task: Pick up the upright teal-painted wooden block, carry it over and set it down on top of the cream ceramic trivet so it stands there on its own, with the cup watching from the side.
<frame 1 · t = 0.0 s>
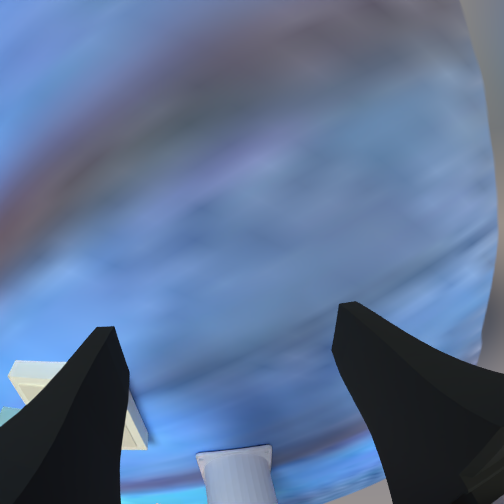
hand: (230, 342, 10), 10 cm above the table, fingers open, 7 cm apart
trivet: (83, 397, 24), on the table
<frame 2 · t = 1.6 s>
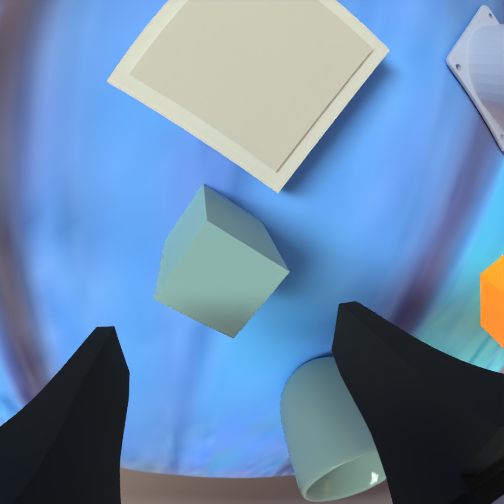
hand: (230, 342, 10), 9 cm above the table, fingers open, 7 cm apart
trivet: (249, 58, 15), on the table
cup: (315, 375, 25), on the table
block: (212, 231, 18), on the table
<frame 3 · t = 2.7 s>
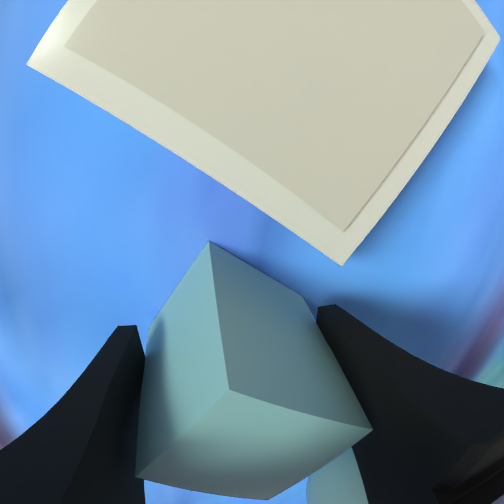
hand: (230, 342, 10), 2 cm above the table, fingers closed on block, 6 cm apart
trivet: (289, 25, 8), on the table
cup: (348, 450, 18), on the table
block: (225, 312, 11), on the table, touching gripper
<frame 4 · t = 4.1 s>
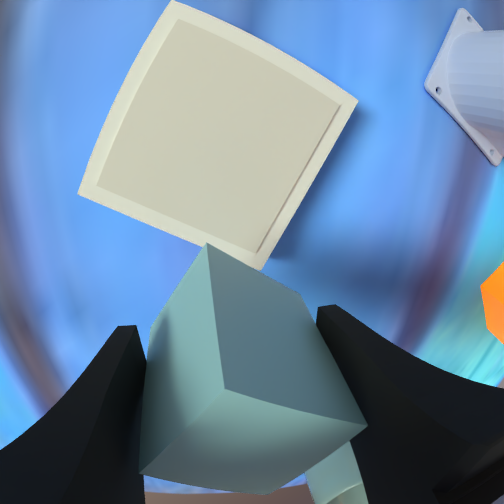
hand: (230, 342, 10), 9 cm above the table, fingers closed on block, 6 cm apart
trivet: (214, 134, 16), on the table
cup: (327, 400, 26), on the table
block: (224, 312, 12), point 7 cm above the table, touching gripper
when the fingers open (5 cm above the table, at t = 5.7 s): block drops 1 cm, point 2 cm above the table.
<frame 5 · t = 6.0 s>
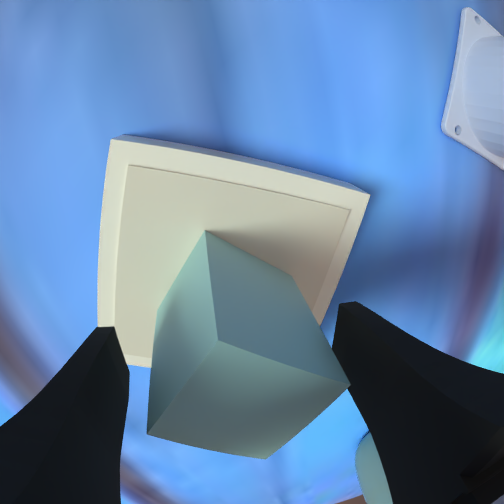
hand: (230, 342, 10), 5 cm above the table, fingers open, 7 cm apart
trivet: (216, 259, 15), on the table
cup: (381, 431, 25), on the table
block: (223, 293, 13), point 2 cm above the table
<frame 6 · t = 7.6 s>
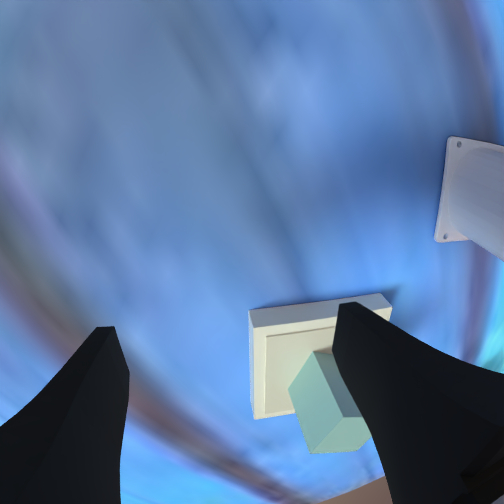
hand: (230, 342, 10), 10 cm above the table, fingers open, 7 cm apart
trivet: (310, 349, 25), on the table, touching block
block: (322, 374, 23), point 2 cm above the table, touching trivet
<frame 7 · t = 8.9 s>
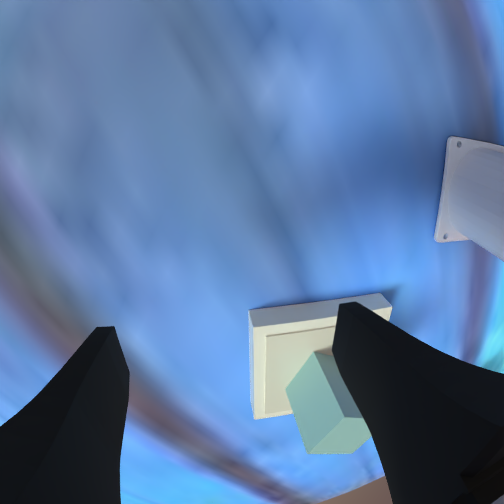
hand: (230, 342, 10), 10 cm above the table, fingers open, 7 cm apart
trivet: (310, 349, 25), on the table
block: (320, 375, 23), point 2 cm above the table
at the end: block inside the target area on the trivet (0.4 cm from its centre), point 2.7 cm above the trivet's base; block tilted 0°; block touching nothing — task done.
